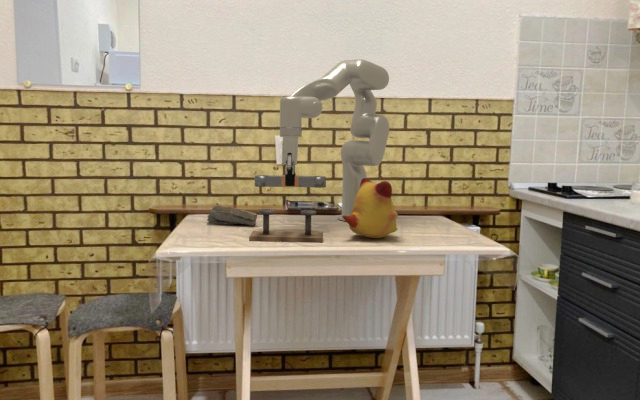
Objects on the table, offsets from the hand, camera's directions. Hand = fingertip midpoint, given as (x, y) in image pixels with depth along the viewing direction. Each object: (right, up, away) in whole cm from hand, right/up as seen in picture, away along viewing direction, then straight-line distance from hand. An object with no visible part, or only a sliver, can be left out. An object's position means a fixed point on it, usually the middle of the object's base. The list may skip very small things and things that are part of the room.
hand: (290, 184), depth 202 cm
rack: (-1, -18, -10) cm, 21 cm away
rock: (-23, -15, +15) cm, 31 cm away
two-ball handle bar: (0, -1, 0) cm, 1 cm away
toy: (+26, -19, -6) cm, 33 cm away
